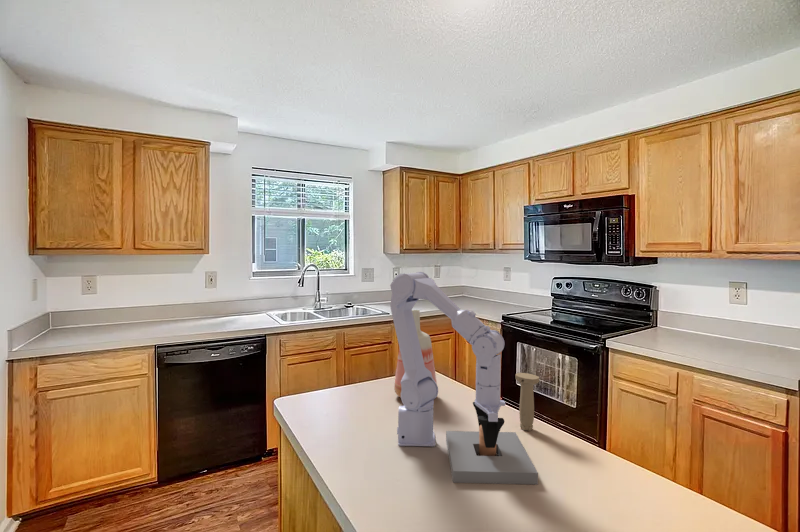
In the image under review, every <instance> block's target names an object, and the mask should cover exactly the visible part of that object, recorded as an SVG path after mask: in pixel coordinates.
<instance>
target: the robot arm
mask: <svg viewBox="0 0 800 532" xmlns="http://www.w3.org/2000/svg"><path fill="white" fill-rule="evenodd" d="M389 286H390V289H391V298H390V304H389V305H390V312H391V315H392V317H391V318H392V320H393V325H394V329H395V334H396V338H397V343H398V349H399V348H400V352H401V357H402V361H403V366H404V370H405V373H404V375H403V377H402V380H401V388H402V389H401V398H400V399H401V402H402V405H399V406H398V416H397V417H398V418H397V419H398V420H397V423H398V425H397V428H396V435H397V442H398V443H397V445H398V446H399V447H405V446H406V447H436V437H435V431H434V404H435V399H436V398H437V397H438V394H439V386H438V383H437V384H436V382H435V381H434V379H433V377H432V373H431V372H430V371H429V370H428V369H427V368H426V367H425V365H424V360H423V356H422V352H421V347H420V343H419V339H418V334H417V330H416V326H415V321H414V317H413V313H412V310H413V308H414V307H415V305H416V303H417V302H418V301H419V300H427V301H428V302H430V303H431V304H432V305H433V306H434V307H436V308H437V309H438V310H439V311H441V313H443V314H444V315H445V316H446V317H448V318H449V319H450V321H451V327H452V328H453V329H454V330H455V331H456V332H457V333H458V334H459V335H460V336H461V337H462V338H463V339H465V340H466V342H468V343H469V344H470V345H471V350H472V352H473V355H475V359H476V361H475V362H476V363H475V399H474V401H473V402H472V405H473V407H474V409H475V413H476V417H477V422H478V423H477V424H478V427H479V426H480V425H482V429H483V436H484V443H485V446H486V448H495V445H496V442H497V438H498V434H499V432H501V428H502V427H503V426H504V424H505V419H504V417H499V411H500V409H501V407H502V406H504V407H505V406H506V401H505V400H502V399H501V380H502V379H501V378H502V377H501V370H502V368H501V366H502V364H501V362H502V361H501V360H502V359H501V358H502V354H501V352H503V350H504V348H505V340H504V337H503V336H502V334H501V333H500V332H499V331H498V330H494V329H491V327H490V326H489V325H485V324H484V322H482V321H481V320H480V319H479V318H478V317H477V316H476V315H477V314H476V313H475V311H474V310H471V311H470V310H469V309H461V308H460V307H459V306H458V305H457V304H456V303H455V302H454V301H453V300H452V299H451V298H450V297H449V296H448V295H447V294H446V293H445V292H444V291H443V290H442V289H441V288H440V287H439V286H438V285H437V283H436V282H435V280H434V279H433V278H432V277H429V275H428V274H427V273H425V272H424V271H417V272H407V273H406V272H402V273H399V274H397V275H396V276H395V278H394V279H393V280H392V282H391V283H390V285H389Z"/></svg>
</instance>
